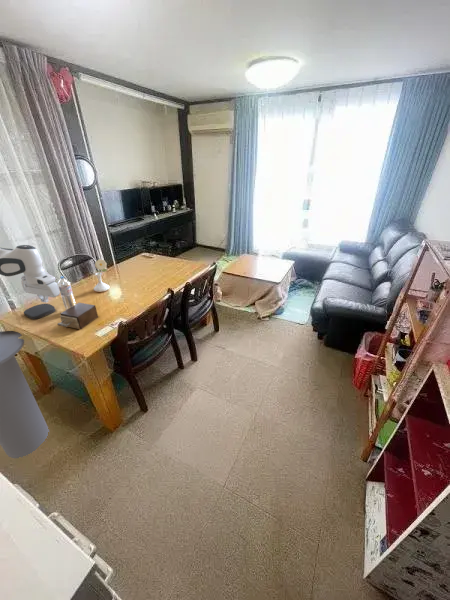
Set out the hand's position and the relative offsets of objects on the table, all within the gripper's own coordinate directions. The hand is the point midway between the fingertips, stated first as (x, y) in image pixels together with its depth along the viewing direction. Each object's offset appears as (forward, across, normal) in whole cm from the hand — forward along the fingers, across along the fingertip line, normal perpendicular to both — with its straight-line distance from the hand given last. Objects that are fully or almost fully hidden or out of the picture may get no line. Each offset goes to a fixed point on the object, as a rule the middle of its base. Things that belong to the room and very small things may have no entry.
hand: (45, 301), depth 134 cm
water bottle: (+23, -15, +26) cm, 38 cm away
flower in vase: (+23, -18, +60) cm, 67 cm away
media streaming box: (+23, -33, +18) cm, 44 cm away
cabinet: (+23, 0, +18) cm, 29 cm away
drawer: (+22, 0, +14) cm, 26 cm away
